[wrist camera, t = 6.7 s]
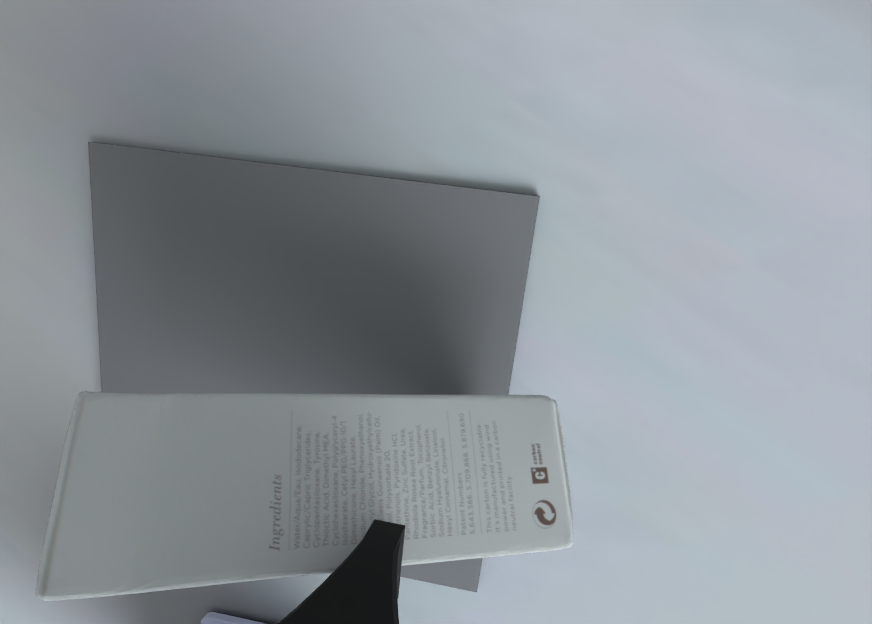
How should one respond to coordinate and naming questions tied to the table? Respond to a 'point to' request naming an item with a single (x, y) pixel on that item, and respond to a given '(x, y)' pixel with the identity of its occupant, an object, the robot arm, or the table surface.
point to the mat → (304, 284)
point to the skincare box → (295, 485)
